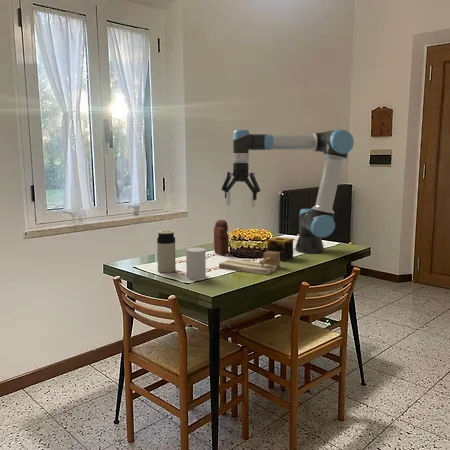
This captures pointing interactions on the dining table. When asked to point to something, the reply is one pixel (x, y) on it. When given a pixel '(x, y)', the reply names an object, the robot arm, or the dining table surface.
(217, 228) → the wooden figurine
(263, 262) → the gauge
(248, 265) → the board
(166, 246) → the travel mug
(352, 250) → the dining table surface
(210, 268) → the dining table surface
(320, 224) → the robot arm
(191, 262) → the grey cylinder
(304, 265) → the dining table surface
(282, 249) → the candle
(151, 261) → the dining table surface
